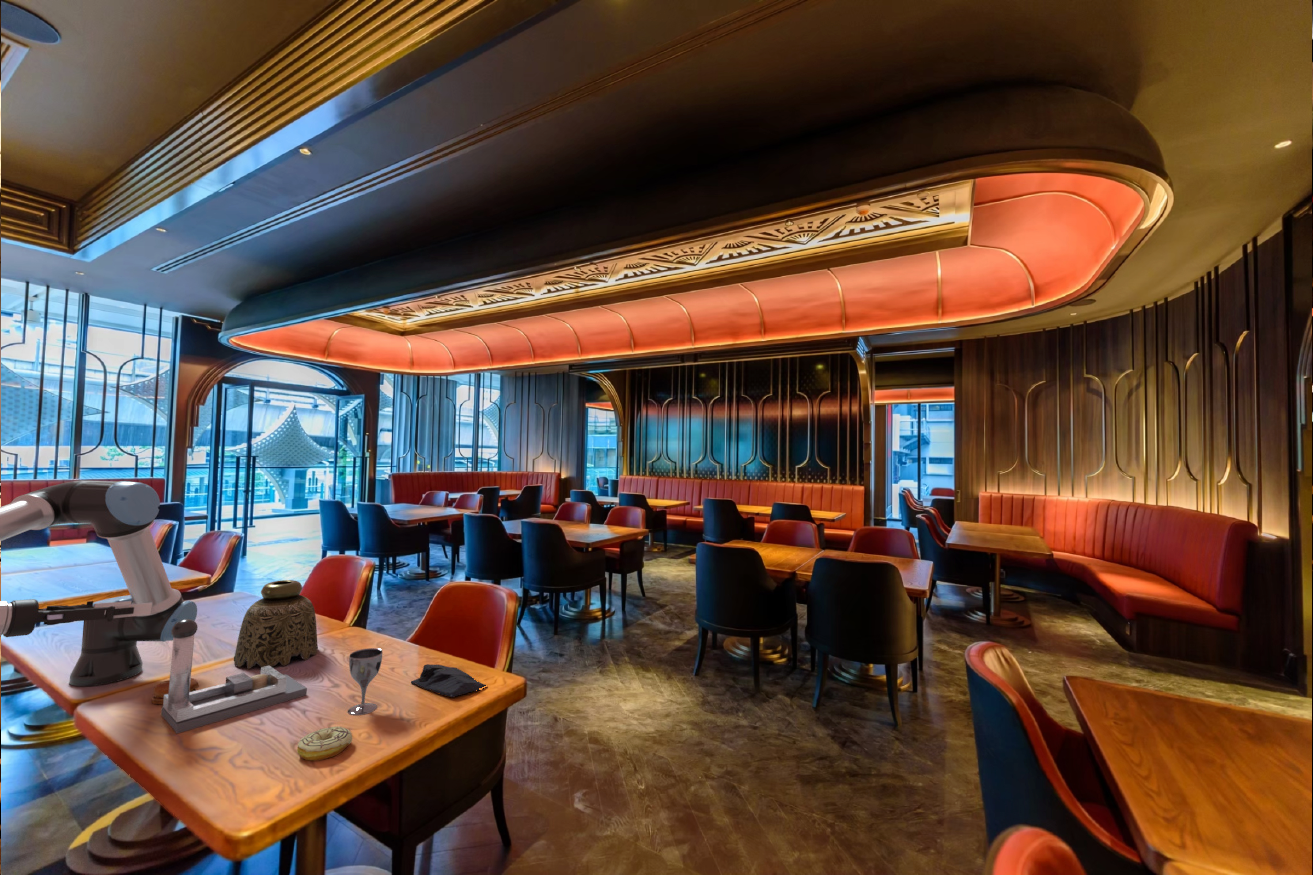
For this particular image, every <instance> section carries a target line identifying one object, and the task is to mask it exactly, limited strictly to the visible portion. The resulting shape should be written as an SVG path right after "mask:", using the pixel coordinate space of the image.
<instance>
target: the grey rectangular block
mask: <svg viewBox="0 0 1313 875" xmlns="http://www.w3.org/2000/svg"><path fill="white" fill-rule="evenodd" d="M250 677H251V676H249V675H248V674H246V673H245V672H242V673H237V674H232V675H230V676H229V675H228V676H226V677H225V683H226V684H225V697H227V698H228V697H231V696H235V695H239V694H242V693H246V692H250V691H252V684H253V679H252V678H250Z"/></svg>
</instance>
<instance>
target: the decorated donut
mask: <svg viewBox="0 0 1313 875" xmlns="http://www.w3.org/2000/svg"><path fill="white" fill-rule="evenodd" d="M352 741H353V733H352V732H351V730H349V729H348V728H346V727H342V726H331V727H326V728H320V729H318V730H316V731H312V732H310V733H308V734H307V735H305V736H303V737H301V739H299V741H298V743H297V748H296V751H297V754H298V756H299V757H301V758H302V759H303V760H306V761H311V762H313V761H314V762H315V761H317V762H318V761H322V760H326V759H328V758H333V757H335V756H337V755H340V753H342V752H343V751H344V750H346V748H347V747H348V746H349V745H350V744H352Z"/></svg>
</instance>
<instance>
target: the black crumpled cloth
mask: <svg viewBox="0 0 1313 875" xmlns="http://www.w3.org/2000/svg"><path fill="white" fill-rule="evenodd" d="M472 677H473V676H471V675H470V674H468V673H466V672H465V671H463V670H461V669H459V668H457V667H453V666H445V665H442V664H430V663H429V664H428V663H426V664H424V665H423V667H422V672H421V673H420V676H419V677H418V678H416V679H414V680H411V682H410V683H411V684H412V685H416V686H418V687H419V688H421V689H424V690H427V691H431V690H432V692H434V693H436V694H437V693H440V694H439V695H442V696H443V695H446V696H445V697H447V696H449V698H456V697H458V695H459V696H462V695H465V694H466V695H467V694H469V693H468V692H471V693H473V692H472V691H475V692H477V691H476V690H479V688H482V687H484V686H486V685H487V684H484V683H483V682H481V681H478V680H477V679H475V678H474V677H473V678H472ZM474 679H475V680H474ZM476 680H477V681H478V682H477V681H476ZM455 696H456V697H455Z"/></svg>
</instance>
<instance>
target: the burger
mask: <svg viewBox="0 0 1313 875" xmlns="http://www.w3.org/2000/svg"><path fill="white" fill-rule="evenodd" d="M169 682H170V679H169V680H165V681H163V682H160V683H158V684H157V685H156V686H155V687H154V688H153V691H152V694H153V696H154V697H152V700H151V703H152V704H153V705H162V706H163V699H164V695H165V694H169ZM199 686H200V685H199V682H198V680H197V679H195V678H192V677H191V680H190V692H193V691H197V689H198V688H199Z"/></svg>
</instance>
